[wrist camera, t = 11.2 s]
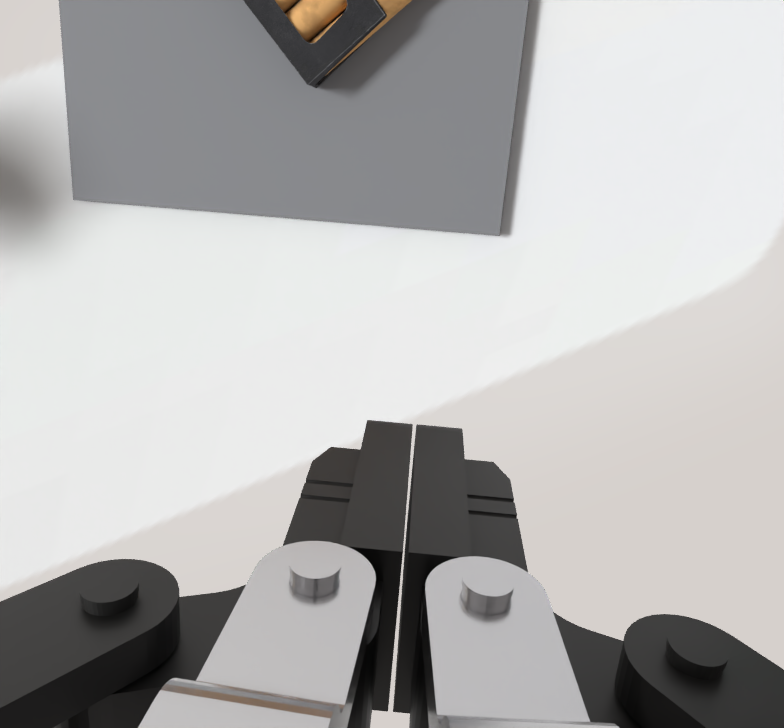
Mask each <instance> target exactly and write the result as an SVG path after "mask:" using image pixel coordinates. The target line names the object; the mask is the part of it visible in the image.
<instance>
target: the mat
mask: <svg viewBox="0 0 784 728" xmlns="http://www.w3.org/2000/svg"><path fill="white" fill-rule="evenodd" d="M299 1H300V0H299ZM299 1H298V2H299ZM298 2H297V3H298ZM528 2H529V0H412V1H411V2H410V3H409V4H407V5H406V6H405V7H404V8H403V9H402V10H400V11H399V12H398V13H397V14H396V15H395V16H394V17H392V18H391V19H390V20H389V21H388V22H387V23H386V24H384V25H383V26H382V27H381V28H380V29H379V30H377V31H376V32H375V33H374V34H373V35H372V36H371V37H370V38H369V39H368V40H367V41H366V42H365V43H364V44H363V45H362V46H361V47H360V48H359V49H358V50H356V51H355V52H354V53H353V54H352V55H351V56H350V57H349V58H348V59H347V60H346V61H345V62H344V63H343V64H342V65H341V66H340V67H339V68H338V69H337V70H335V71H334V72H333V73H332V74H331V75H330V76H329V77H328V78H327V79H326V80H325V81H324V82H323V83H322V84H321V85H320V86H319V87H318V88H315V87H312V86H309V85H307V84H306V83H305V81H304V80H303V79H302V77H301V76H300V75H299V73H298V72H297V71H296V69H295V68H294V67H293V65H292V64H291V63H290V61H289V60H288V59H287V58H286V56H285V55H284V54H283V52H282V51H281V50H280V48H279V47H278V46H277V44H276V43H275V42H274V40H273V39H272V38H271V36H270V35H269V34H268V33H267V31H266V30H265V29H264V27H263V26H262V25H261V23H260V22H259V21H258V19H257V18H256V17H255V15H254V14H253V13H252V11H251V10H250V9H249V8H248V6H247V5H246V4H245V2H244V1H243V0H59V8H60V21H61V34H62V35H61V36H62V50H63V63H64V77H65V91H66V105H67V118H68V132H69V146H70V160H71V174H72V187H73V200H81V201H93V202H105V203H117V204H129V205H140V206H152V207H164V208H176V209H188V210H200V211H211V212H223V213H235V214H247V215H259V216H271V217H282V218H294V219H306V220H318V221H330V222H342V223H353V224H365V225H377V226H389V227H401V228H413V229H424V230H436V231H448V232H460V233H472V234H484V235H495V236H499V235H500V227H501V219H502V211H503V203H504V195H505V187H506V178H507V170H508V162H509V154H510V146H511V138H512V130H513V122H514V114H515V106H516V98H517V90H518V82H519V74H520V66H521V58H522V50H523V42H524V34H525V26H526V18H527V10H528ZM297 3H296V4H297ZM296 4H294V5H293V6H292V7H294V6H295V5H296ZM292 7H291V8H292ZM291 8H290V9H291ZM290 9H289V10H290ZM289 10H288V11H289ZM345 10H346V9H345ZM345 10H344V11H343V12H342V13H341V14H339V15H338V16H337V17H336V18H335V19H334V20H333V21H332V22H334V21H335V20H336V19H337V18H338V17H339V16H341V15H342V14H343V13H344V12H345ZM288 11H287V12H288ZM287 12H286V13H287ZM332 22H330V23H329V24H328V25H327V26H326V27H325V28H324V29H326V28H327V27H328V26H329V25H330V24H331V23H332ZM324 29H323V30H324ZM323 30H321V31H320V32H319V33H318V34H317V35H319V34H320V33H321V32H322V31H323ZM317 35H316V36H317ZM316 36H315V37H316ZM315 37H314V38H315ZM314 38H312V39H311V40H310V41H309V42H311V41H312V40H313V39H314Z"/></svg>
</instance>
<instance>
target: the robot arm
mask: <svg viewBox="0 0 784 728" xmlns="http://www.w3.org/2000/svg"><path fill="white" fill-rule="evenodd" d="M411 438H412V424H404V423H393V422H383V421H372V420H367V424H366V429H365V433H364V438H363V442H362V447H361V450H357V449H347V448H336V447H331V448H329V449H328V450H327V451H325V452H324V453H323V454H321V455H320V456H319V457H317V458H316V459H315V460H313V461H312V464H311V467H310V470H309V472H308V475H307V478H306V483H305V484H304V487H303V490H302V493H301V498H300V499H299V501H298V504H297V507H296V510H295V513H294V515H293V518H292V521H291V524H290V527H289V530H288V532H287V535H286V538H285V541H284V544H283V546H282V547H279V548H277V549H275V550H273V551H271V552H270V553H268V554H267V555H265V556H264V557H263V558H262V559H261V560H260V561H259V563H258V564H257V566H256V567H255V569H254V571H253V573H252V575H251V577H250V578H249V580H248V582H247V584H246V585H244V586H241V587H239V588H236V589H232V590H228V591H223V592H218V593H210V594H202V595H194V596H186V597H179V587H178V583H177V581H176V579H175V578H174V576H173V575H172V574H171V573H170V572H169V571H167V570H166V569H164V568H163V567H161V566H159V565H156V564H154V563H151V562H147V561H142V560H135V559H133V560H132V559H118V560H108V561H103V562H98V563H94V564H91V565H87V566H84V567H82V568H79V569H76V570H74V571H72V572H70V573H67V574H65V575H62V576H60V577H58V578H55V579H53V580H51V581H48V582H46V583H44V584H41V585H39V586H37V587H34V588H32V589H30V590H27V591H25V592H22V593H20V594H18V595H15V596H13V597H10V598H8V599H6V600H4V601H1V602H0V728H370V722H371V713H372V710H379V711H388V704H389V693H390V682H391V671H392V661H393V650H394V639H395V628H396V618H397V607H398V596H399V586H400V575H401V574H400V573H401V564H402V553H403V541H404V527H405V515H406V501H407V490H408V477H409V464H410V450H411ZM513 501H514V498H513V493H512V487H511V482H510V479H509V478H508V477H507V476H506V475H505V474H504V473H503V472H502V471H501V470H500V469H499V467H498V466H497V465H496V464H495V463H494V462H487V461H476V460H465V459H464V446H463V433H462V429H459V428H447V427H437V426H426V425H417V426H416V436H415V446H414V458H413V468H412V478H411V489H410V500H409V510H408V521H407V532H406V544H405V557H404V570H403V584H402V598H401V612H400V626H399V640H398V654H397V667H396V680H395V694H394V708H393V712H402V713H410V728H784V670H783V669H782V668H780V667H779V666H777V665H776V664H774V663H773V662H771V661H770V660H768V659H767V658H765V657H763V656H762V655H760V654H759V653H757V652H756V651H754V650H753V649H751V648H750V647H748V646H747V645H745V644H744V643H742V642H741V641H739V640H737V639H736V638H735V637H733V636H731V635H730V634H728V633H726V632H725V631H723V630H721V629H719V628H717V627H715V626H713V625H711V624H708V623H705V622H703V621H700V620H697V619H692V618H689V617H685V616H679V615H668V614H661V615H651V616H647V617H644V618H641V619H639V620H637V621H636V622H634V623H633V624H631V626H630V627H629V628H628V629H627V631H626V634H625V636H624V641H621V640H618V639H615V638H612V637H609V636H606V635H602V634H599V633H596V632H593V631H590V630H587V629H585V628H582V627H579V626H577V625H575V624H573V623H571V622H569V621H566V620H565V619H563V618H562V617H560V616H558V615H557V614H555V613H554V612H553V611H552V608H551V605H550V602H549V599H548V596H547V594H546V592H545V589H544V588H543V587H542V585H541V584H540V583H539V582H538V581H537V580H536V579H535V578H534V577H533V576H532V575H530V574H529V573H528V570H527V565H526V560H525V555H524V550H523V544H522V539H521V534H520V529H519V524H518V519H517V518H516V516H517V513H516V508H515V503H513Z"/></svg>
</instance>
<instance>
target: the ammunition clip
mask: <svg viewBox="0 0 784 728" xmlns="http://www.w3.org/2000/svg"><path fill="white" fill-rule="evenodd" d="M243 1H244V2H245V4H246V5H247V6H248V8H249V9H250V10H251V11H252V13H253V14H254V15H255V17H256V18H257V19H258V21H259V22H260V23H261V25H262V26H263V27H264V29H265V30H266V31H267V33H268V34H269V35H270V36H271V38H272V39H273V40H274V42H275V43H276V44H277V46H278V47H279V48H280V50H281V51H282V52H283V54H284V55H285V56H286V58H287V59H288V60H289V61H290V63H291V64H292V65H293V67H294V68H295V69H296V71H297V72H298V73H299V75H300V76H301V77H302V79H303V80H304V81H305V83H306V84H307V85H309V86H312V87H315V88H318V87H319V86H320V85H321V84H322V83H323V82H324V81H325V80H326V79H327V78H328V77H329V76H330V75H331V74H332V73H333V72H334V71H335V70H337V69H338V68H339V67H340V66H341V65H342V64H343V63H344V62H345V61H346V60H347V59H348V58H349V57H350V56H351V55H352V54H353V53H354V52H355V51H356V50H358V49H359V48H360V47H361V46H362V45H363V44H364V43H365V42H366V41H367V40H368V39H369V38H370V37H371V36H372V35H373V34H374V33H375V32H376V31H377V30H379V29H380V28H381V27H382V26H383V25H384V24H386V23H387V22H388V21H389V20H390V19H391V18H392V17H394V16H395V15H396V14H397V13H398V12H399V11H400V10H402V9H403V8H404V7H405V6H406V5H407V4H409V3H410V2H411V1H412V0H300V1H299V0H243ZM298 1H299V2H298ZM297 2H298V3H297ZM296 3H297V4H296ZM294 4H296V5H295V6H294V7H292V6H293V5H294ZM291 7H292V8H291ZM290 8H291V9H290ZM289 9H290V10H289ZM345 9H346V10H345ZM288 10H289V11H288ZM344 10H345V12H344V13H343V14H342V15H341V16H339V17H338V18H337V19H336V20H335V21H334V22H332V21H333V20H334V19H335V18H336V17H337V16H338V15H339V14H341V13H342V12H343V11H344ZM287 11H288V12H287ZM286 12H287V13H286ZM330 22H332V23H331V24H330V25H329V26H328V27H327V28H326V29H324V28H325V27H326V26H327V25H328V24H329V23H330ZM323 29H324V30H323ZM321 30H323V31H322V32H321V33H320V34H319V35H317V34H318V33H319V32H320V31H321ZM316 35H317V36H316ZM315 36H316V37H315ZM314 37H315V38H314ZM312 38H314V39H313V40H312V41H311V42H309V41H310V40H311V39H312Z"/></svg>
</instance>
